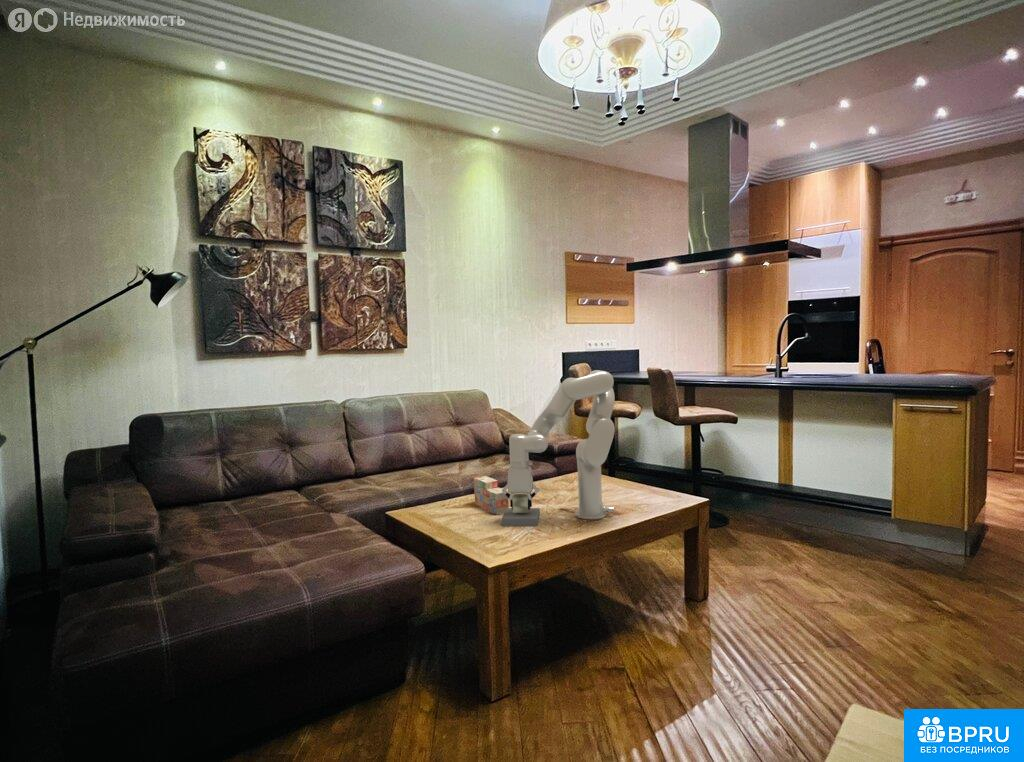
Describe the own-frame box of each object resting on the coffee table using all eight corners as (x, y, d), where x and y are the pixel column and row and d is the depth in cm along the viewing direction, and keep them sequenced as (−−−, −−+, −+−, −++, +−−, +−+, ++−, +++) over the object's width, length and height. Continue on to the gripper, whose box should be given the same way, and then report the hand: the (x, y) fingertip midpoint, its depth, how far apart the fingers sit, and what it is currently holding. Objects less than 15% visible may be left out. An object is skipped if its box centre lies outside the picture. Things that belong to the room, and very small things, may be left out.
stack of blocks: (509, 513, 234) (508, 484, 233) (496, 515, 231) (495, 486, 230) (486, 501, 252) (485, 475, 252) (474, 504, 249) (473, 477, 249)
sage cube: (529, 508, 225) (528, 493, 225) (527, 512, 219) (527, 497, 219) (514, 508, 226) (514, 493, 225) (513, 512, 220) (512, 497, 219)
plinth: (539, 515, 229) (539, 508, 228) (537, 526, 215) (536, 518, 215) (506, 515, 230) (506, 508, 230) (501, 525, 217) (501, 518, 216)
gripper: (541, 462, 224) (543, 506, 225) (499, 463, 226) (501, 506, 227) (540, 466, 216) (541, 511, 217) (497, 467, 219) (498, 511, 220)
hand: (521, 508), depth 222 cm, fingers closed on sage cube, 5 cm apart
